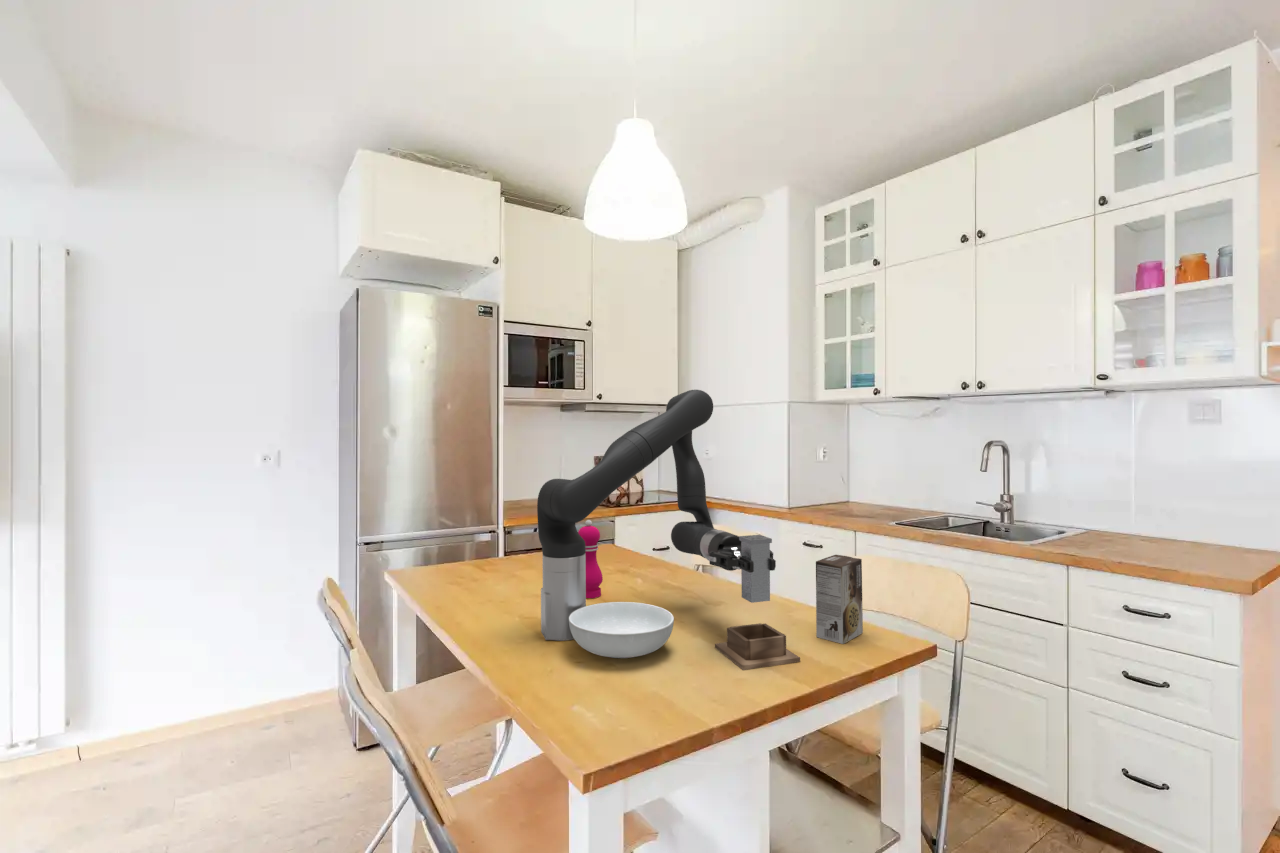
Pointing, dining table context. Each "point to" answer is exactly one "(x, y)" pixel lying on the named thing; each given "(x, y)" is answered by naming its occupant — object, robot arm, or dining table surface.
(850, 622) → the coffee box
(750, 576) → the grey square peg
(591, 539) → the pepper mill
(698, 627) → the dining table surface
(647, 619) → the serving bowl
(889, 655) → the dining table surface
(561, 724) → the dining table surface
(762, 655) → the box
